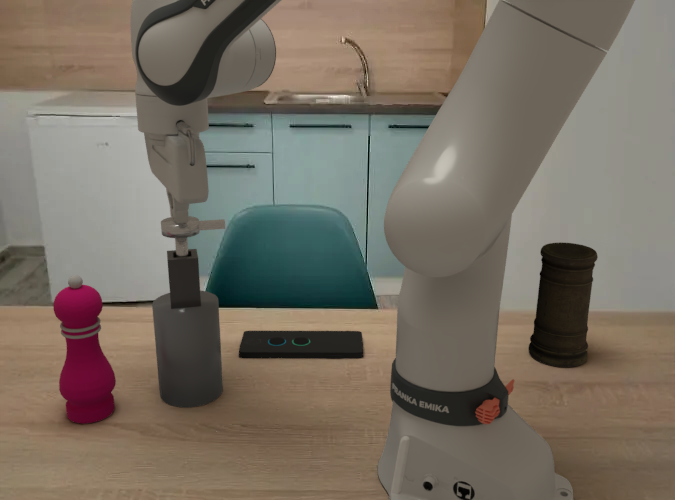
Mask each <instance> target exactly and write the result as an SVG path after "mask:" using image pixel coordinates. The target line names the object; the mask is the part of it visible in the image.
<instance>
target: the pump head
mask: <svg viewBox="0 0 675 500" xmlns="http://www.w3.org/2000/svg"><path fill="white" fill-rule="evenodd" d="M188 217H189V220H188V222H187V223H182V224H177V223H176V222H175V221H174V219H173V218H172V217H171V216H170V217H166V218H163V219H161V221H160V229H161V231H160V232H161V235H162V236H163V237H165V238H168V239H169V238H171V239H174V241H175V242H174V243H175V250H176V258H179V257H188V249H189V245H188V238H191V237H195V236H197V235H198V234H200V233H201V232H200V231H209V230H210V231H212V230H213V231H214V230H225V229H226V220H225V219H207V220H206V219H205V220H200V219H199V218H198V217H194V216H191V215H190V216H189V215H188Z"/></svg>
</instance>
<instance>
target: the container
mask: <svg viewBox="0 0 675 500" xmlns="http://www.w3.org/2000/svg"><path fill="white" fill-rule="evenodd" d="M540 255H541V260H540V261H541V270H540V271H539V281H538V282H539V283H538V292H537V294H538V295H537V301H536V309H535V311H536V312H535V318H534V320H533V333H532V334H531V336H530V337H529V341H530V343H529V344H528V353H529V355H530V356H531V358H533V359H534V360H535V361H537V362H539V363H541V364H544V365H548V366H551V367H558V368H574V367H577V366H581V365H583V364H584V363H585V362H587V359H588V356H589V354H588V349H589V345H588V342H587V337H588V336H587V335H588V331H589V326H588V322H589V312H590V311H589V310H590V304H591V303H590V302H591V295H592V287H593V283H594V277H593V272H594V268H595V266H596V264H595V263H596V262H597V261H598V258H599V257H598V253H597V251H596V250H595V249H594V248H592V247H589V246H587V245H583V244H579V243H573V242H552V243H551V242H549V243H547V244H544V245H543V246H542V247H541V248H540Z"/></svg>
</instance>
